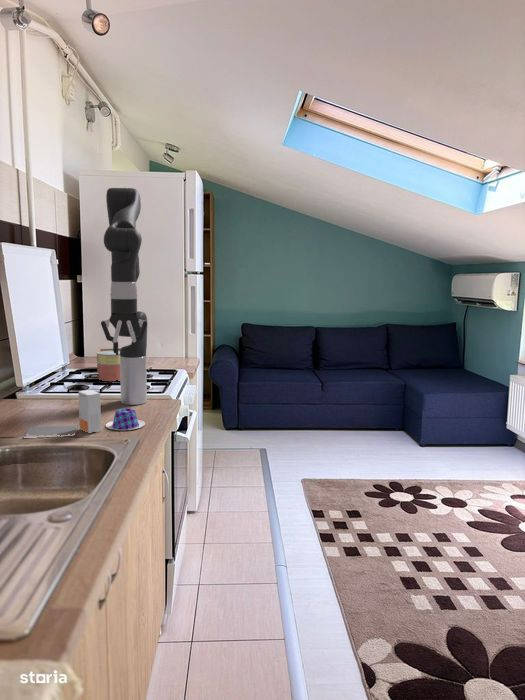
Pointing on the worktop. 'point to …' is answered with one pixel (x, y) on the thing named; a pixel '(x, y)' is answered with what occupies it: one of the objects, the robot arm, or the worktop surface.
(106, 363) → the canned food
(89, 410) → the skincare box
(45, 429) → the mat
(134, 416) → the pudding
